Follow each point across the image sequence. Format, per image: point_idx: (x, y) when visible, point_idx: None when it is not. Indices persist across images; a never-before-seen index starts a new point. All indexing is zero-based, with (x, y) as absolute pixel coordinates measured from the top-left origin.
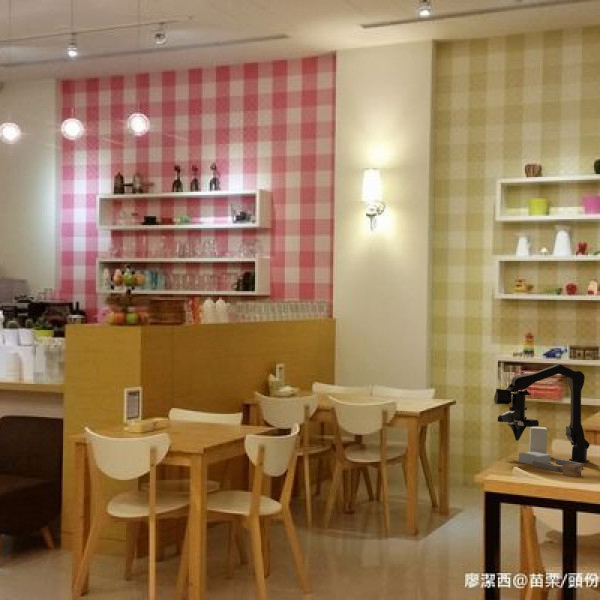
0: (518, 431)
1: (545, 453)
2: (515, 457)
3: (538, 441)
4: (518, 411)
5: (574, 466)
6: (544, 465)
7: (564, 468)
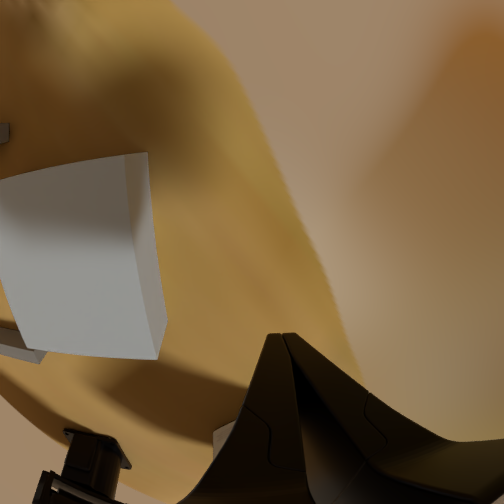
0: (228, 442)
1: (215, 444)
2: (297, 289)
3: None
4: None
5: None
6: None
7: None
